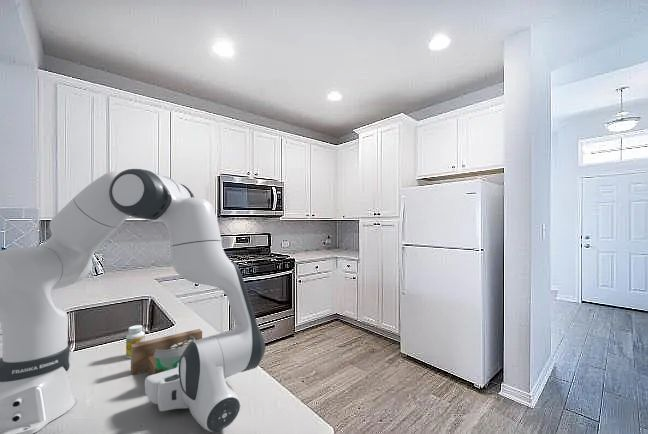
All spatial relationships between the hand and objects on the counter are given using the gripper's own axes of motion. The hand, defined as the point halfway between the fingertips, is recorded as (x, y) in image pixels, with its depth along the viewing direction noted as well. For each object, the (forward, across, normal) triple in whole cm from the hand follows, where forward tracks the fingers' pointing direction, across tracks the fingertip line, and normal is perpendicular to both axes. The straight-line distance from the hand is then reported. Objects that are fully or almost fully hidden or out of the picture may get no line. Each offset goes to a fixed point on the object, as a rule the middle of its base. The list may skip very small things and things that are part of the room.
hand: (182, 364), depth 82 cm
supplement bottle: (+29, +7, +5) cm, 31 cm away
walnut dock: (+11, 0, +5) cm, 12 cm away
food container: (+2, 0, +5) cm, 6 cm away
